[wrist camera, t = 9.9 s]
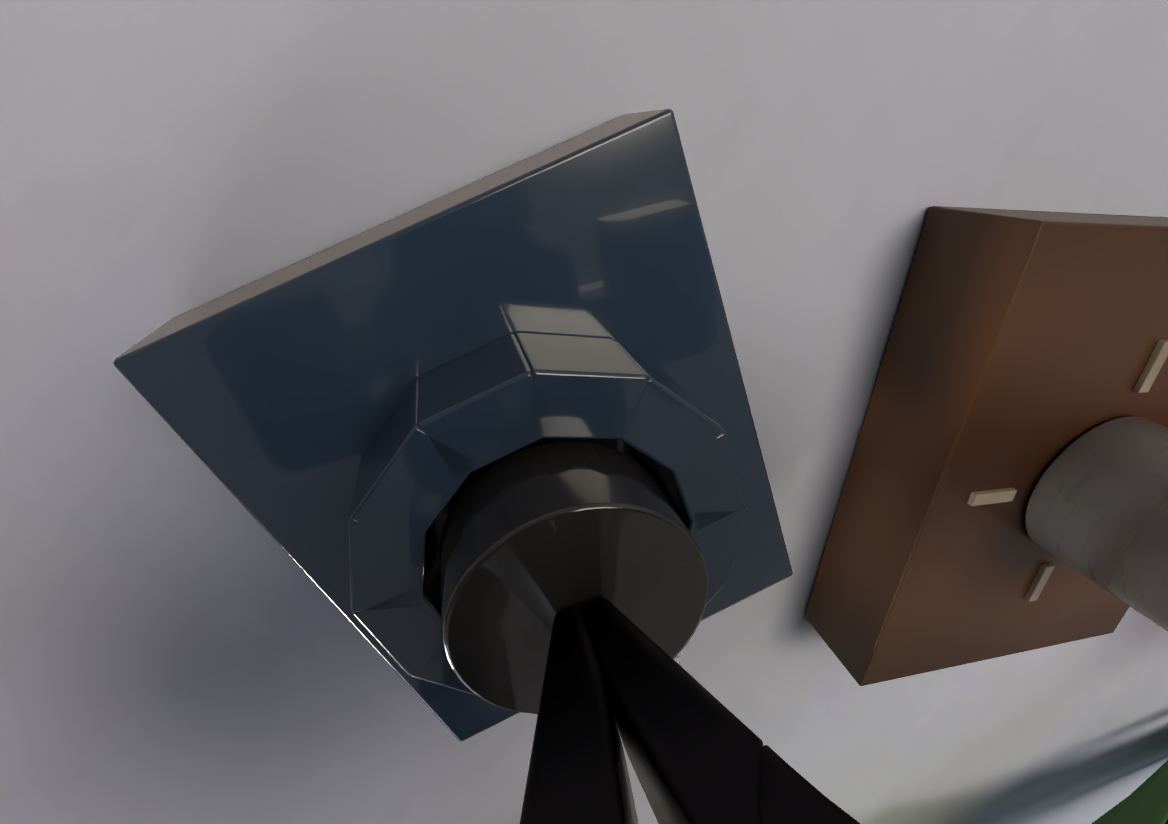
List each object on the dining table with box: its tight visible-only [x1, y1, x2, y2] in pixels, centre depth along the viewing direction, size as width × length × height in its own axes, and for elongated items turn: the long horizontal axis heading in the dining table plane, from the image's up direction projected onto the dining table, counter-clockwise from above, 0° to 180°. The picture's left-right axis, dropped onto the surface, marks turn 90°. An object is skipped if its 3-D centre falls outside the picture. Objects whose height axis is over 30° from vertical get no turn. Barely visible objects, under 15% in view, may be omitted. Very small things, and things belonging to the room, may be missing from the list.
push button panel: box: [113, 109, 792, 741], centre depth 12 cm, size 12×10×4 cm
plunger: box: [439, 441, 709, 714], centre depth 10 cm, size 4×4×2 cm
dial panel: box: [805, 206, 1168, 686], centre depth 17 cm, size 14×11×3 cm
